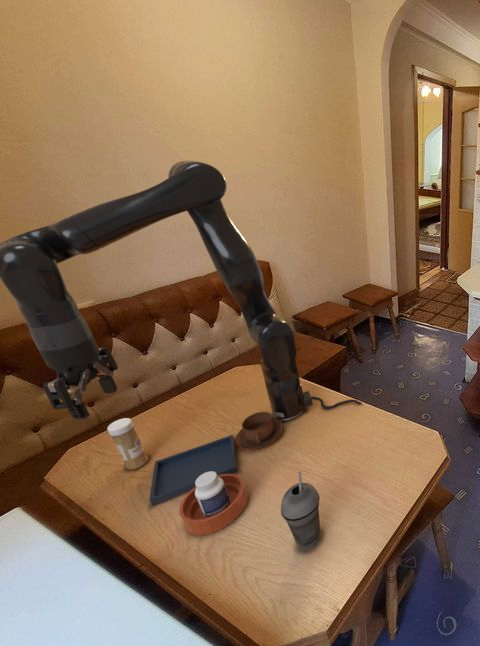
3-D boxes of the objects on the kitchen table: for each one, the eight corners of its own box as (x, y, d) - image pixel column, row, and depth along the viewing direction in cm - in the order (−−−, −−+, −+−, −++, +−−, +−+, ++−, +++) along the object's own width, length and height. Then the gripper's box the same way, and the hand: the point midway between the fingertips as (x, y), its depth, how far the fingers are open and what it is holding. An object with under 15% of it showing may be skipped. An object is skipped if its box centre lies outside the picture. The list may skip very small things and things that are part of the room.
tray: (234, 440, 102) (232, 434, 101) (237, 472, 92) (235, 466, 91) (157, 467, 93) (155, 461, 92) (152, 506, 83) (149, 500, 82)
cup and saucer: (290, 437, 103) (287, 420, 101) (245, 460, 95) (239, 443, 93) (275, 416, 111) (271, 401, 108) (231, 437, 103) (226, 420, 101)
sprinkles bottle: (147, 465, 93) (129, 425, 88) (124, 473, 91) (104, 432, 86) (149, 453, 97) (132, 414, 92) (127, 460, 95) (108, 421, 89)
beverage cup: (297, 524, 80) (281, 459, 72) (331, 522, 80) (318, 457, 72) (285, 559, 73) (265, 491, 65) (321, 556, 74) (306, 488, 66)
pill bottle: (236, 502, 84) (226, 472, 80) (215, 522, 79) (203, 492, 75) (219, 495, 86) (208, 465, 82) (197, 515, 81) (184, 484, 77)
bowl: (245, 478, 90) (241, 465, 89) (250, 516, 81) (246, 503, 79) (186, 502, 84) (180, 489, 82) (184, 547, 75) (177, 533, 73)
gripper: (58, 356, 65) (94, 425, 71) (111, 321, 78) (138, 382, 84) (7, 360, 63) (49, 430, 70) (70, 324, 76) (100, 386, 83)
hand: (97, 404), depth 77 cm, fingers open, 8 cm apart
